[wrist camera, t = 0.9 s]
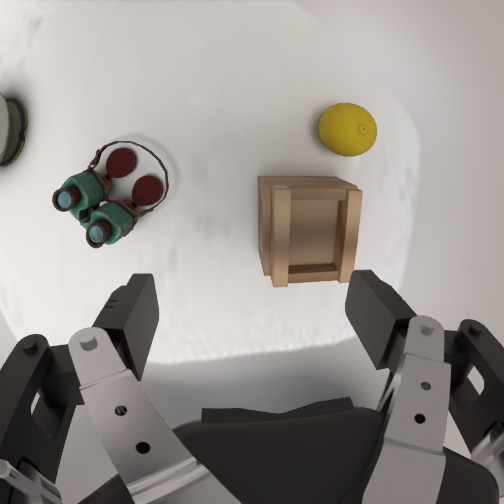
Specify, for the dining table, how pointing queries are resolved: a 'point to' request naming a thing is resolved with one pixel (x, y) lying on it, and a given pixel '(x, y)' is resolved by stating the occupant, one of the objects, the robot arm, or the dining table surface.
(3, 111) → the apothecary jar
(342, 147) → the lemon
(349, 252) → the wooden crate
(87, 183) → the binoculars
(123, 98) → the dining table surface
